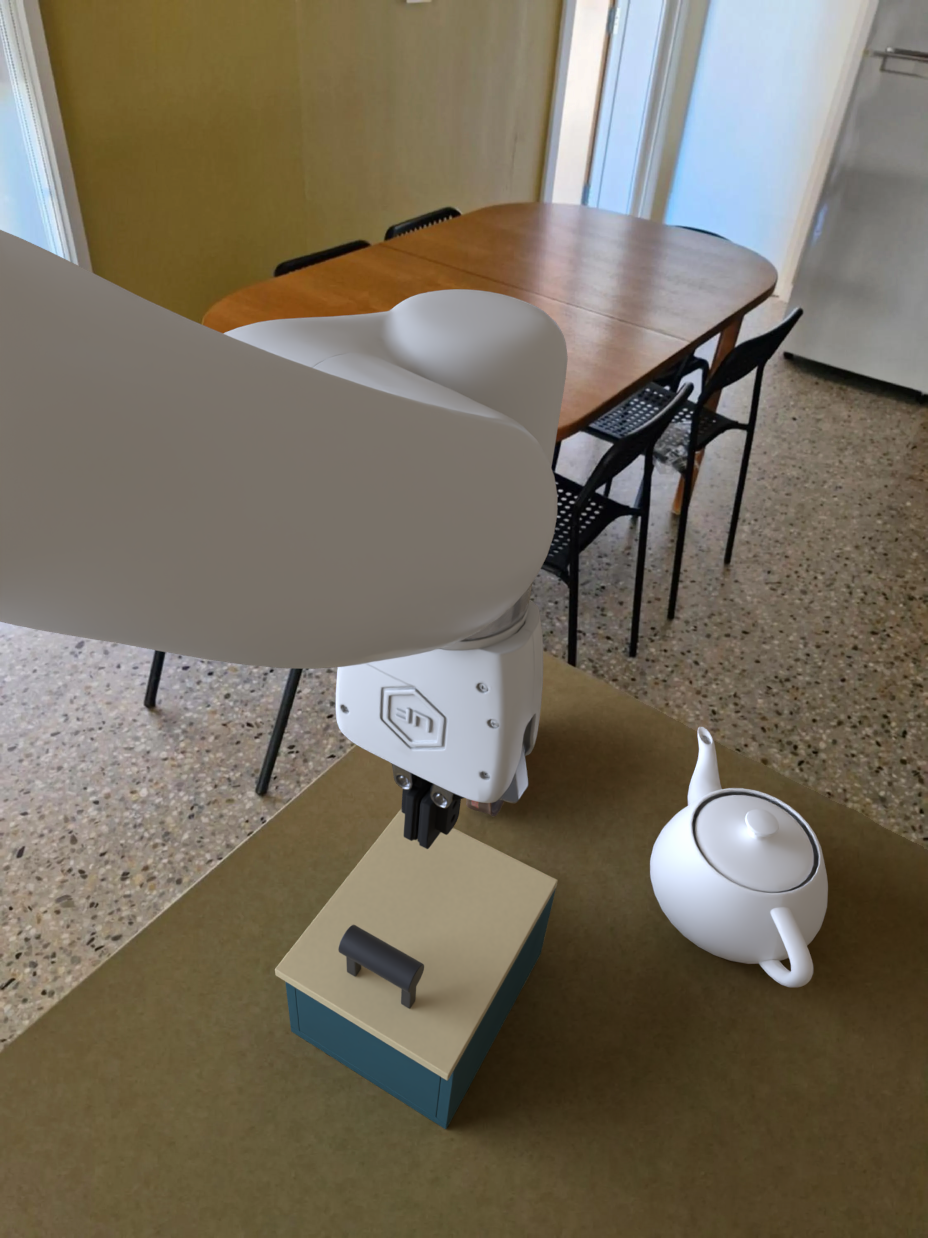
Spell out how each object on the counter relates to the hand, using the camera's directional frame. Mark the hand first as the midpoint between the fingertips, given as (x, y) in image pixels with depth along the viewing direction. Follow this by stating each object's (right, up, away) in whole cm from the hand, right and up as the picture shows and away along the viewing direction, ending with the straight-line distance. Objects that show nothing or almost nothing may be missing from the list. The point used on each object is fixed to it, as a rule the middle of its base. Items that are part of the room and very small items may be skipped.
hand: (428, 826), depth 52 cm
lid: (-1, -8, +7) cm, 11 cm away
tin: (+5, -2, +30) cm, 30 cm away
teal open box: (-1, -15, +13) cm, 20 cm away
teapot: (+23, -11, +21) cm, 33 cm away
